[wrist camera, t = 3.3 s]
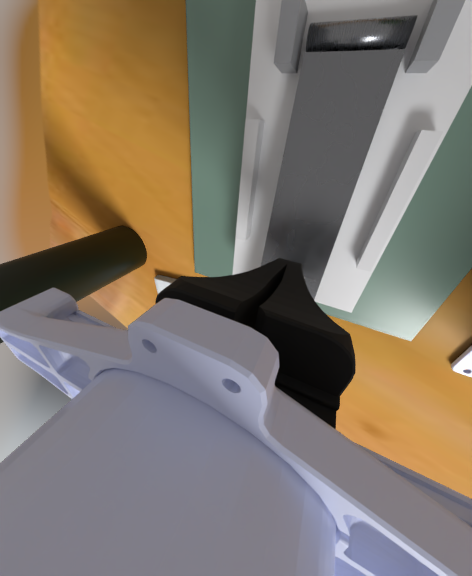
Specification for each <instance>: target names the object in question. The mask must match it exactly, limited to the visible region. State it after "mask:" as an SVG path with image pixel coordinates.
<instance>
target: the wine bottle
mask: <svg viewBox="0 0 472 576" xmlns="http://www.w3.org/2000/svg"><path fill="white" fill-rule="evenodd" d="M146 258H147V253H146V249H145V246H144V244H143V242H142V240H141V239H140V237H139V236H138V235H137V234H136V233H135V232H134V231H133V230H132V229H130V228H128V227H125V226H118V227H115V228H112V229H109V230H106V231H103V232H99V233H96V234H93V235H90V236H87V237H84V238H81V239H78V240H74V241H71V242H68V243H65V244H62V245H59V246H56V247H53V248H50V249H47V250H43V251H40V252H37V253H34V254H31V255H28V256H25V257H22V258H19V259H15V260H12V261H9V262H6V263H3V264H0V311H2V310H5V309H7V308H9V307H11V306H13V305H16V304H18V303H20V302H22V301H24V300H27V299H29V298H31V297H33V296H35V295H38V294H40V293H42V292H44V291H46V290H49V289H51V288H56V289H59V290H61V291H63V292H65V293H67V294H69V295H71V296H72V297H73V298H74V299H75V301H76V302H77V301H79V300H80V299H82V298H84V297H86V296H87V295H90V294H91V293H93V292H95V291H97V290H99V289H101V288H102V287H104V286H106V285H108V284H110V283H111V282H113V281H115V280H117V279H119V278H121V277H122V276H124V275H126V274H128V273H130V272H131V271H133V270H135V269H137V268H139V267H141V266H142V265H144V264H145V262H146ZM2 342H4V341H3V340H2V339H1V338H0V343H2Z"/></svg>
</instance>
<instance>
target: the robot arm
mask: <svg viewBox="0 0 472 576" xmlns="http://www.w3.org/2000/svg"><path fill="white" fill-rule="evenodd" d="M0 338H1V339H2V340H3V341H4V342H5V344H6V345H7V346H8V347H9V349H10V350H11V351H12V352H13V354H14V355H15V356H16V357H17V358H18V359H19V360H20V361H21V362H23V363H24V364H26V365H27V366H29V367H30V368H32V369H33V370H34V371H36V372H37V373H39V374H40V375H41V376H43V377H44V378H45V379H47V380H48V381H50V382H51V383H52V384H53V385H54V386H56V387H57V388H58V389H60V390H61V391H62V392H63V393H65V394H66V395H67V396H68V397H70V398H71V400H70V401H69V402H68V403H67V404H66V405H65V406H64V407H63V408H61V409H60V410H59V411H58V412H57V413H56V414H55V415H54V416H52V417H51V418H50V419H49V420H48V421H47V422H46V423H45V424H44V425H42V426H41V427H40V428H39V429H38V430H37V431H36V432H35V433H33V434H32V435H31V436H30V437H29V438H28V439H27V440H26V441H24V442H23V443H22V444H21V445H20V446H19V447H18V448H17V449H16V450H14V451H13V452H12V453H11V454H10V455H9V456H8V457H7V458H5V459H4V460H3V461H2V462H1V463H0V576H472V499H471V498H469V497H467V496H464V495H462V494H460V493H458V492H456V491H454V490H452V489H450V488H448V487H446V486H444V485H442V484H440V483H437V482H435V481H433V480H431V479H429V478H427V477H425V476H423V475H421V474H419V473H417V472H415V471H413V470H410V469H408V468H406V467H404V466H402V465H400V464H398V463H396V462H394V461H392V460H390V459H388V458H386V457H383V456H381V455H379V454H377V453H375V452H373V451H371V450H369V449H367V448H365V447H363V446H361V445H358V444H356V443H354V442H352V441H351V440H349V439H348V438H347V437H345V436H344V435H343V434H341V433H340V432H338V431H337V430H336V429H335V428H336V411H337V410H338V409H339V406H340V395H341V394H342V393H343V391H344V390H345V389H346V387H347V386H348V384H349V383H350V382H351V380H352V379H353V376H354V374H355V354H354V349H353V345H352V340H351V336H350V334H349V333H348V332H346V331H345V330H344V329H343V328H341V327H340V326H339V325H337V324H336V323H335V322H334V321H333V320H331V319H330V318H329V317H328V316H327V315H326V314H325V313H324V312H323V311H322V310H321V308H320V307H319V306H318V305H317V303H316V302H315V301H314V299H313V298H312V296H311V294H310V292H309V290H308V287H307V285H306V282H305V279H304V275H303V265H302V264H301V263H297V262H294V261H290V260H286V259H283V258H278V259H276V260H274V261H272V262H270V263H267V264H265V265H263V266H261V267H258V268H255V269H253V270H250V271H247V272H243V273H239V274H235V275H228V276H221V277H186V276H181V277H179V278H178V279H177V280H175V281H174V282H173V283H171V284H170V285H169V286H167V287H166V288H165V289H163V290H162V291H161V292H160V293H159V294H158V295H157V298H156V304H155V305H154V306H153V307H151V308H150V309H149V310H148V311H146V312H145V313H144V314H142V315H141V316H140V317H139V318H137V319H136V320H135V321H134V322H132V323H131V324H130V325H128V330H124V329H117V328H115V327H113V326H111V325H109V324H107V323H105V322H103V321H101V320H99V319H97V318H95V317H92V316H90V315H88V314H86V313H84V312H82V311H80V310H78V305H77V303H76V301H75V299H74V298H73V297H72V296H71V295H69V294H67V293H65V292H63V291H61V290H59V289H56V288H51V289H49V290H46V291H44V292H42V293H40V294H38V295H35V296H33V297H31V298H29V299H27V300H24V301H22V302H20V303H18V304H16V305H13V306H11V307H9V308H7V309H5V310H2V311H0ZM451 368H452V369H453V371H455V372H458V373H461V374H464V375H467V376H469V377H472V346H470V347H469V348H468V349H467V350H466V351H465V352H464V353H463V354H462V355H461V356H459V357H458V358H457V359H456V360H455V361H454V362H453V363H452V364H451ZM465 369H468V370H465Z"/></svg>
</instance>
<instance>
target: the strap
mask: <svg viewBox="0 0 472 576" xmlns="http://www.w3.org/2000/svg"><path fill="white" fill-rule="evenodd" d="M417 16H418V15H410V16H397V17H383V18H369V19H355V20H342V21H328V22H314V23H311V24H310V26H309V30H308V35H307V41H306V52H304V56H303V61H302V65H301V70H300V75H299V80H298V85H297V90H296V95H295V100H294V105H293V110H292V115H291V119H290V124H289V129H288V134H287V139H286V144H285V149H284V154H283V159H282V164H281V169H280V173H279V178H278V183H277V188H276V193H275V198H274V203H273V208H272V213H271V218H270V223H269V227H268V232H267V237H266V242H265V247H264V252H263V257H262V262H261V266H263V265H265V264H267V263H270V262H272V261H274V260H276V259H278V258H283V259H286V260H290V261H294V262H297V263H301V264H302V265H303V275H304V277H305V278H304V279H305V282H306V285H307V287H308V290H309V292H310V294H311V296H312V298H313V299H315V296H316V294H317V291H318V288H319V285H320V283H321V280H322V277H323V274H324V272H325V269H326V266H327V263H328V261H329V258H330V255H331V252H332V250H333V247H334V244H335V241H336V239H337V236H338V233H339V230H340V228H341V225H342V222H343V219H344V217H345V214H346V211H347V209H348V206H349V203H350V200H351V198H352V195H353V192H354V189H355V187H356V184H357V181H358V178H359V176H360V173H361V170H362V167H363V165H364V162H365V159H366V156H367V154H368V151H369V148H370V145H371V143H372V140H373V137H374V134H375V132H376V129H377V126H378V123H379V121H380V118H381V115H382V113H383V110H384V107H385V104H386V102H387V99H388V96H389V93H390V91H391V88H392V85H393V82H394V80H395V77H396V74H397V71H398V69H399V66H400V63H401V60H402V58H403V55H404V52H405V48H406V45H407V43H408V41H409V38H410V36H411V33H412V30H413V28H414V25H415V22H416V19H417Z"/></svg>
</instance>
